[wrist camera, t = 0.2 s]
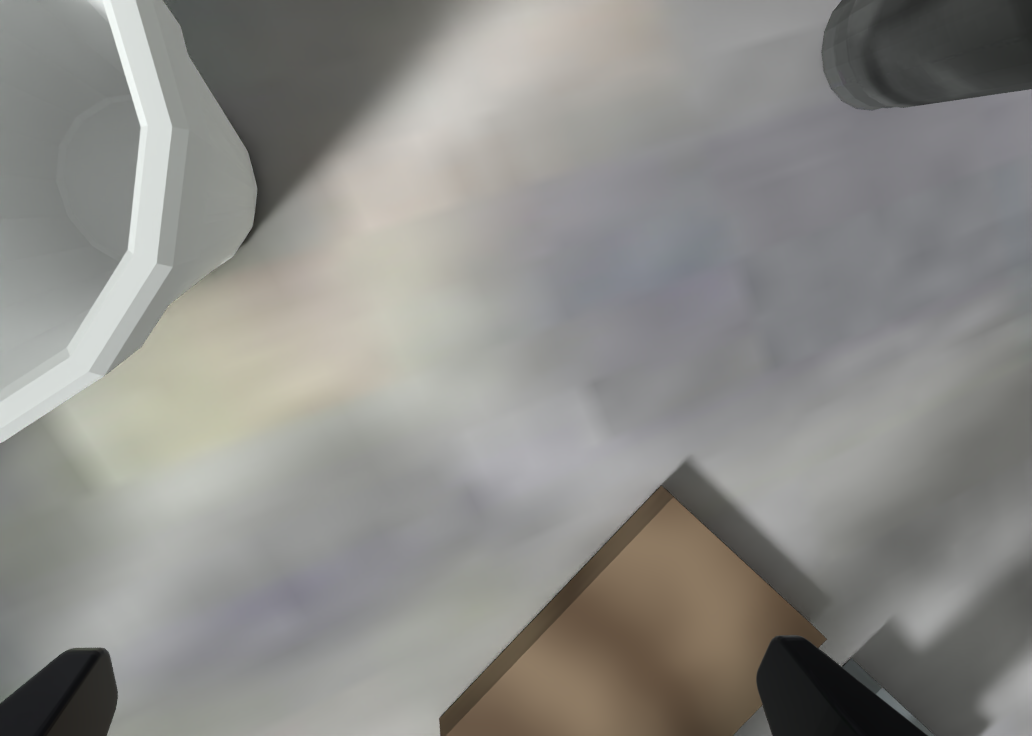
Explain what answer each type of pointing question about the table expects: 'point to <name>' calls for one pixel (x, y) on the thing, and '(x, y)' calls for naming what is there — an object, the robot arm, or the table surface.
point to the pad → (638, 642)
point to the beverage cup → (927, 50)
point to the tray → (882, 693)
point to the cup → (103, 191)
